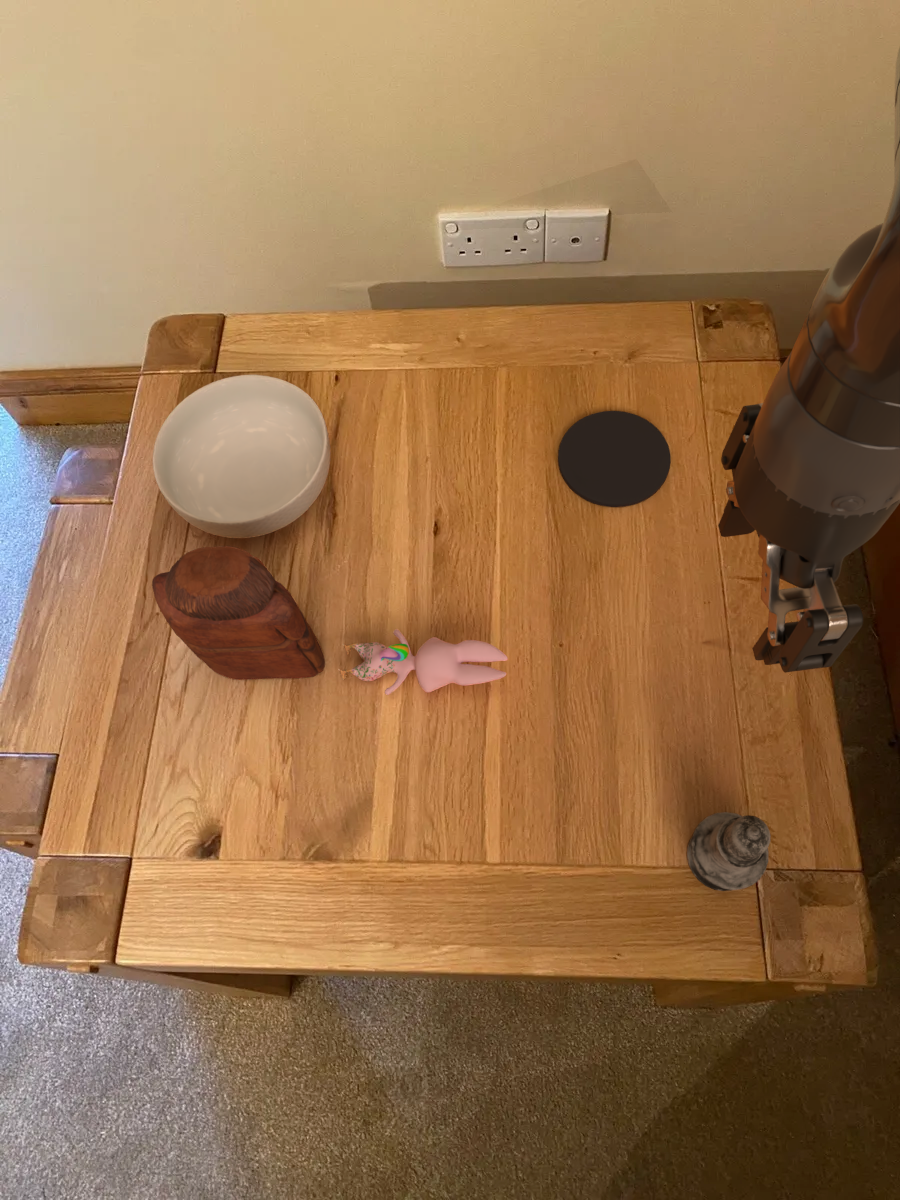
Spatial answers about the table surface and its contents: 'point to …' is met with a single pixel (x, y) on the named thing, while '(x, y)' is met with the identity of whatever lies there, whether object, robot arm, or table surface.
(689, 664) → the table surface
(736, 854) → the salt shaker
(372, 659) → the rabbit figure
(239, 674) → the wooden figurine
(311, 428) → the cereal bowl
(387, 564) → the table surface
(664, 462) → the coaster
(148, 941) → the table surface
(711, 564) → the table surface
